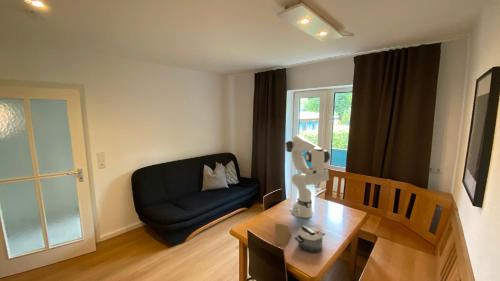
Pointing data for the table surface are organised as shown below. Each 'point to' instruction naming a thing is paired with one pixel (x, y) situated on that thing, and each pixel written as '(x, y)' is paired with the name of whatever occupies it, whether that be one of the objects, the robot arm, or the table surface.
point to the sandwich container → (282, 234)
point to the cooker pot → (309, 245)
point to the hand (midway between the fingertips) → (317, 187)
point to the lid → (310, 233)
